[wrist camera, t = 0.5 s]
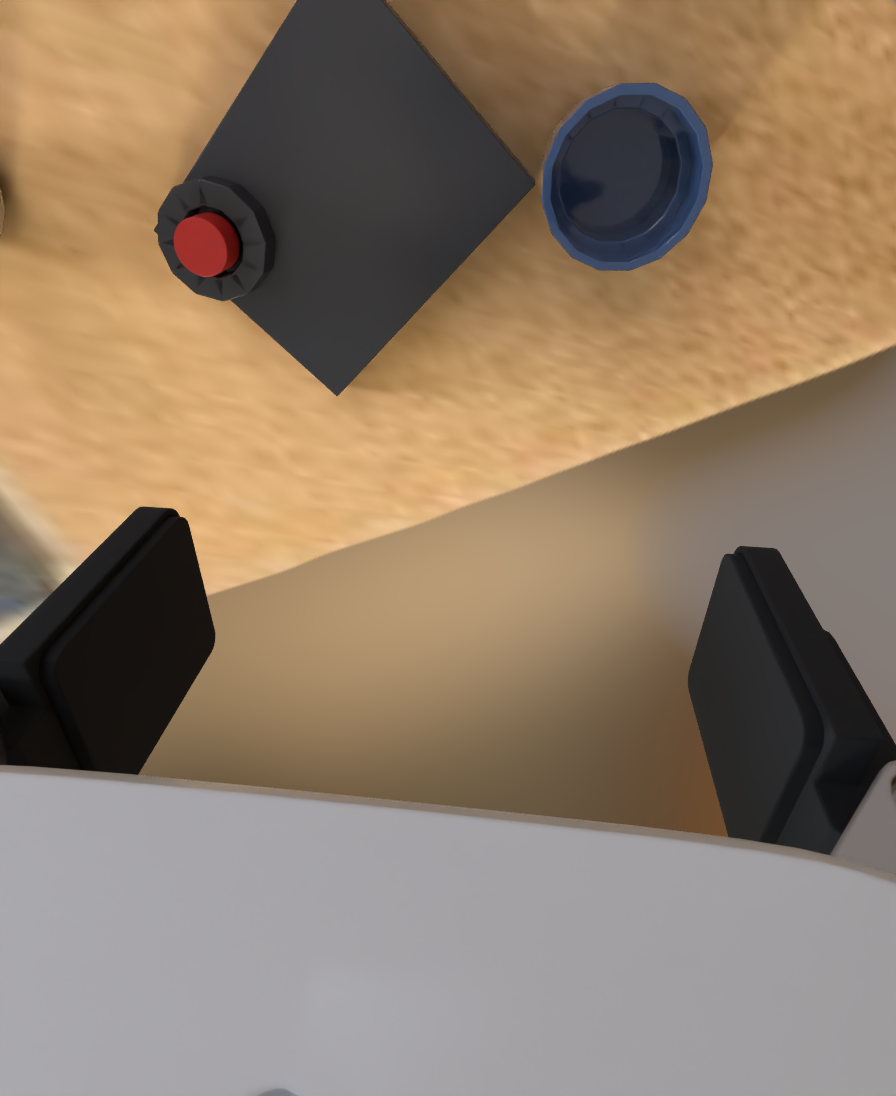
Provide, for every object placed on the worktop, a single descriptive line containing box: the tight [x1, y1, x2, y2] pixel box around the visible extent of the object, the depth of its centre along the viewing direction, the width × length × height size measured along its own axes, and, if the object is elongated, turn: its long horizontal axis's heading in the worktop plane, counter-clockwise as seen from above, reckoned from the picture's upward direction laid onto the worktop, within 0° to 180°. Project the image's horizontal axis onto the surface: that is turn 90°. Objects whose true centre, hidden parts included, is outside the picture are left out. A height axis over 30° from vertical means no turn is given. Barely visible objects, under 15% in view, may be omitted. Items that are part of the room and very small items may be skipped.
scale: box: [154, 0, 535, 396], centre depth 34 cm, size 16×13×4 cm
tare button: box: [174, 212, 240, 277], centre depth 34 cm, size 3×3×2 cm
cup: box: [541, 83, 713, 271], centre depth 31 cm, size 7×7×6 cm
